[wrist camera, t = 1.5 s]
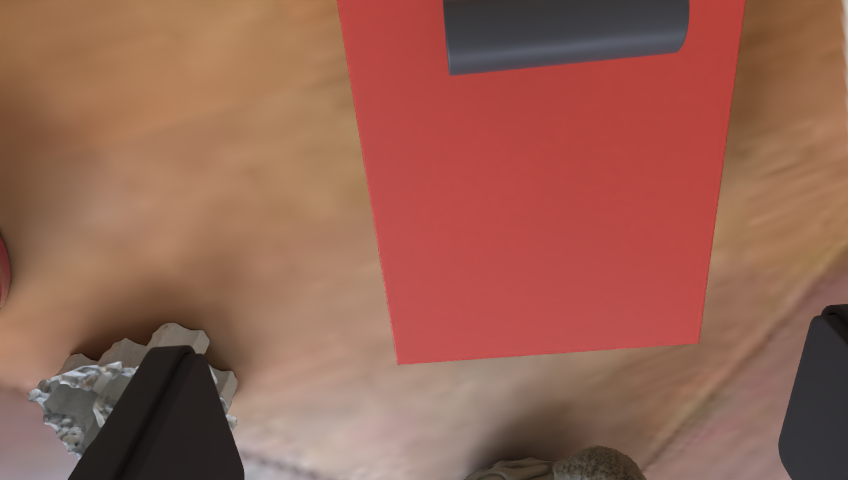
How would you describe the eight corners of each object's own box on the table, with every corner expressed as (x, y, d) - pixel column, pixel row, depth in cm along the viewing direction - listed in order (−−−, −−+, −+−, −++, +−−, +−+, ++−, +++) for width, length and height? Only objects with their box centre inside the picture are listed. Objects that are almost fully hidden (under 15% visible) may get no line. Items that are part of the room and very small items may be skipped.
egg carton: (198, 309, 36) (173, 356, 33) (256, 401, 40) (239, 452, 36) (42, 354, 38) (2, 403, 35) (111, 438, 42) (81, 490, 38)
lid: (331, -57, 20) (299, -38, 15) (749, -107, 19) (851, -102, 14) (398, 352, 28) (390, 447, 23) (692, 331, 27) (745, 425, 22)
